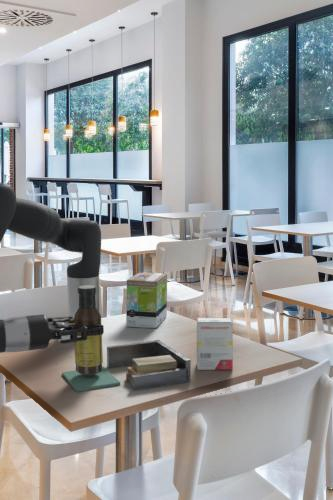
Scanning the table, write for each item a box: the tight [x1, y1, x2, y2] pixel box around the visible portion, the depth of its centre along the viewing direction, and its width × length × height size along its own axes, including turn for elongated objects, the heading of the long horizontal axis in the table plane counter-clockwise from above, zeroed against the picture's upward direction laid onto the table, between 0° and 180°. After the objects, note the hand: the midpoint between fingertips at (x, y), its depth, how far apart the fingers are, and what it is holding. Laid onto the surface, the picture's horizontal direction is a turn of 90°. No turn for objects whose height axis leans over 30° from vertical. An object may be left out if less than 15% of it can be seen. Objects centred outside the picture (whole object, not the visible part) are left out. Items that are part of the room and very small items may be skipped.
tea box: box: [125, 272, 168, 329], centre depth 187 cm, size 15×10×15 cm, turn 168°
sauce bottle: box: [74, 285, 104, 375], centre depth 136 cm, size 6×6×20 cm
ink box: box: [196, 317, 234, 371], centre depth 144 cm, size 9×5×12 cm, turn 88°
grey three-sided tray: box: [106, 339, 192, 392], centre depth 140 cm, size 18×14×5 cm
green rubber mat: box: [61, 365, 121, 393], centre depth 136 cm, size 12×10×1 cm
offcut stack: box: [125, 355, 177, 385], centre depth 136 cm, size 6×11×4 cm, turn 115°
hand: (98, 325), depth 136 cm, fingers closed on sauce bottle, 6 cm apart
